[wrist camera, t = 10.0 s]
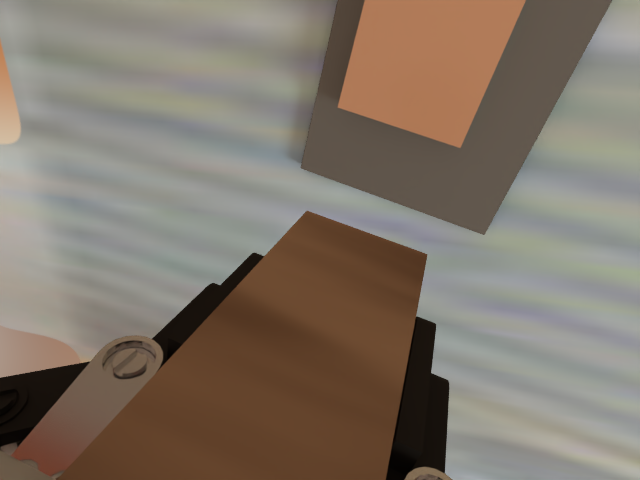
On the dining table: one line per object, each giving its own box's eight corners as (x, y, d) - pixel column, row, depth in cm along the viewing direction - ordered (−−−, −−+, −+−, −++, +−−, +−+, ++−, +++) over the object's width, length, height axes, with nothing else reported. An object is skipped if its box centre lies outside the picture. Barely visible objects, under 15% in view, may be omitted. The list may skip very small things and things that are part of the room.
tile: (460, 148, 24) (538, -28, 19) (337, 107, 25) (381, -67, 20) (460, 141, 25) (533, -24, 20) (344, 103, 26) (387, -61, 22)
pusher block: (387, 345, 14) (266, 810, 6) (285, 303, 15) (39, 662, 6) (427, 254, 12) (331, 769, 4) (306, 210, 13) (-15, 556, 4)
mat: (484, 230, 28) (484, 234, 27) (304, 165, 30) (300, 168, 30) (616, -15, 20) (621, -17, 19) (359, -78, 22) (355, -82, 22)
